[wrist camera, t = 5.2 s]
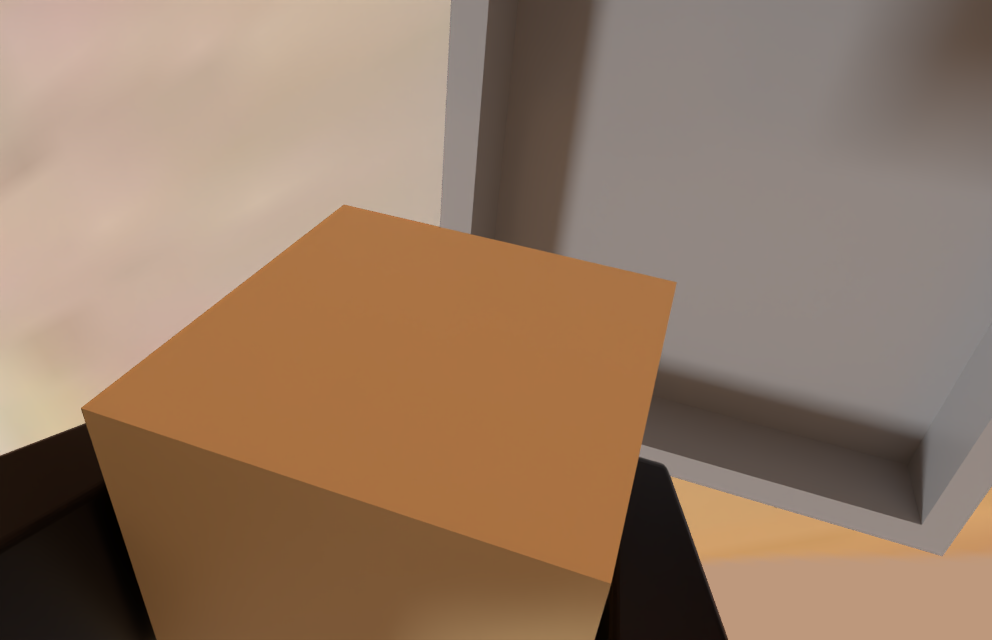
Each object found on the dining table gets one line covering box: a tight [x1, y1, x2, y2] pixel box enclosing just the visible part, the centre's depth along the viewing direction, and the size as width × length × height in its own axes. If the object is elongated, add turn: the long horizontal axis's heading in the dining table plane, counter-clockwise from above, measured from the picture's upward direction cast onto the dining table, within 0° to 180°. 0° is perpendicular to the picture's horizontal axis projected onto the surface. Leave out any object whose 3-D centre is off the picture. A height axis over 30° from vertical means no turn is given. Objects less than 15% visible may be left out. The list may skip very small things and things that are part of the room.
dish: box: [440, 0, 992, 556], centre depth 14 cm, size 12×12×2 cm
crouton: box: [81, 205, 677, 640], centre depth 7 cm, size 4×4×4 cm
